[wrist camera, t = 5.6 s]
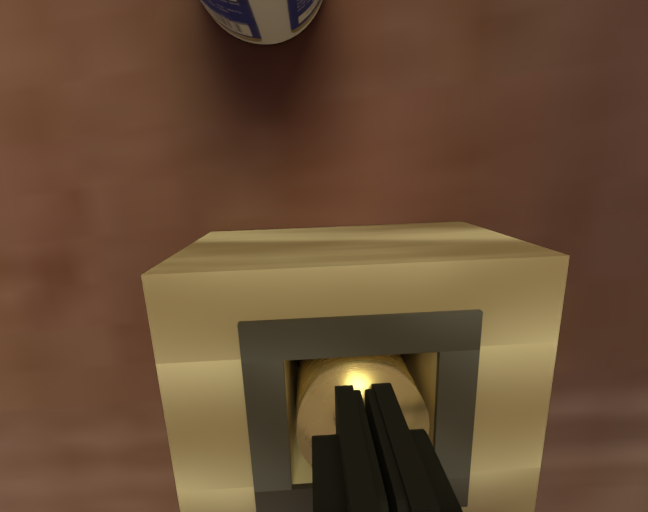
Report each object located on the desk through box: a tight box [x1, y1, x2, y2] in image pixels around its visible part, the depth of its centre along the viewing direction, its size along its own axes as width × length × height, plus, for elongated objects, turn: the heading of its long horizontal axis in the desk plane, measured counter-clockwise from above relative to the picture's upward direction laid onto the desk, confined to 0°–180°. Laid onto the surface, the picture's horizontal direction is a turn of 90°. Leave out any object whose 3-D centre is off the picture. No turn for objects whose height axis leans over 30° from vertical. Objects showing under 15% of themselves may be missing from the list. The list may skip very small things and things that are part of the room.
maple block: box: [141, 222, 570, 512], centre depth 15 cm, size 20×12×7 cm, turn 2°
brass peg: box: [296, 354, 430, 467], centre depth 14 cm, size 4×4×7 cm
